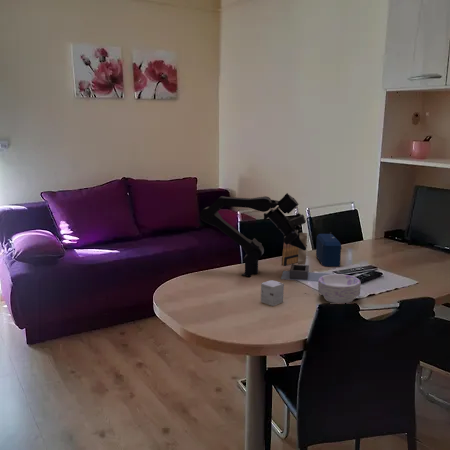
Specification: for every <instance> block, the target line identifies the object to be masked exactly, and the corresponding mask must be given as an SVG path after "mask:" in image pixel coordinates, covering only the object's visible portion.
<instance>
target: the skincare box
mask: <svg viewBox="0 0 450 450" xmlns="http://www.w3.org/2000/svg"><path fill="white" fill-rule="evenodd" d="M284 286H285V283H282V282H280V281H277V280H273V279H271V280H270V279H269V280H267V281H264V282H262V283H261V285H260V287H261V288H260V302H261V303H262V304H265V305H269V306H271V307H275V306H277V305H280V304H282V303H284V290H285V289H284V288H285V287H284Z"/></svg>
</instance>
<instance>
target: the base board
mask: <svg viewBox="0 0 450 450" xmlns="http://www.w3.org/2000/svg"><path fill="white" fill-rule="evenodd" d="M329 274H330V273H326V272H311V271H309V274H308V280H302V279H290V270H283V272H282V275H281V277H280V280H287V281H288V280H289V281H302V282H303V281H304V282H315V283H316V282H317V283H318V280H319V278H320V277H321V276H324V275H329Z"/></svg>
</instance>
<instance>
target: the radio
mask: <svg viewBox="0 0 450 450" xmlns="http://www.w3.org/2000/svg"><path fill="white" fill-rule="evenodd" d="M315 246H316V248H315V252H316V253H315V256H316V258H317V259H318V260H319V262H320V264H321V265H322V266H323V267H327V268H328V267H331V268H332V267H335V268H337V267H338V268H339V267H340V266H341V256H342V255H341V254H342V253H341V252H342V244H341V242H340V241H339V239H337V238H336V236H334V234H332V233H318V234H317V235H316V244H315Z"/></svg>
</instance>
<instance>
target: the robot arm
mask: <svg viewBox="0 0 450 450" xmlns="http://www.w3.org/2000/svg"><path fill="white" fill-rule="evenodd" d="M299 204H300V203H299V202H298V201H297V199H295V198H294V197H293V196H292V195H290V194H289V193H288V192H287V193H285V195H283V196H282V198H280V200H276V199H271V197H270V196H265V195H264V196H257V197H252V198H251V197H250V198H249V197H233V196H224V195H221V196H219V197H218V198H216V200H215V201H214V202H213V203H212V204H210V206H206V207H205V208H203V209H201V211H200V214H199V217H200V220H201V221H203V222H204V223H207V224H208V225H210V226H213V227H216V228H217V229H218V230H220V231H221V232H222V233H224V234H225V235H226V236H228V237H229V238H230V239H231V240H232V241H234V242H235V243H236V244H237V245H239V246H240V247H241V248H242V249H243V251H244V252H245V256H244V257H243V259H242V260H243V263H244V272H243V273H241V276H243V277H249V278H251V277H252V276H253V275H257V274H259V259H261V258H262V256H263V254H264V252H265V249H264V246H263V245H262V242H260V241H258V240H257V239H256V238H255V237H254V238H253V239H250V238H248V237H246V236H245V235H244V234H243V233H242V232H240V231H239V230H238V229H236V228H235V227H234V226H232V225H231V224H230V223H229V222H227V221H226V220H225V219H223V217H222V215H221V214H220V212H219V211H220V210H221V209H222V208H223V207H229V208H230V207H231V208H233V207H234V208H247V209H248V208H249V209H251V210H255V211H258V212H262V213H263V221H266V220H267V219H269V221H270V222H272V224H274V225H275V226H276V229H277V230H279V231H280V232H281V233H282V234H283V244H284V243H285V244H286V245H287V244H290V245H291V246H292V245H293V246H295V247H298V248H300V249H302V250H306V251H307V248H306V247H305V246H304V244H303V243H302V241H301V240H300V233H302V226H301V225H305V224H306V222H307V221H306V218H305V216H304V214H303V213H302V214H301V213H300V212H298V213H296V214H295V217H293V218H290V217H287V216H286V215H285V214H290V213H291V212H292V211H293V210H294V209H296V208H298V206H299Z"/></svg>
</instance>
